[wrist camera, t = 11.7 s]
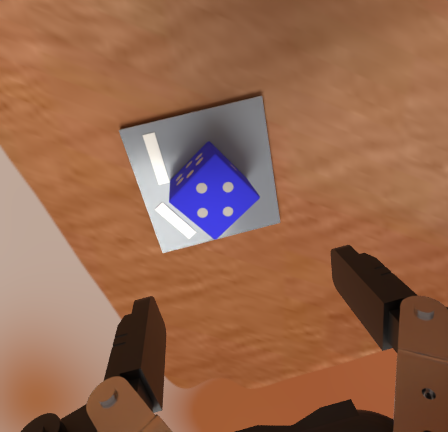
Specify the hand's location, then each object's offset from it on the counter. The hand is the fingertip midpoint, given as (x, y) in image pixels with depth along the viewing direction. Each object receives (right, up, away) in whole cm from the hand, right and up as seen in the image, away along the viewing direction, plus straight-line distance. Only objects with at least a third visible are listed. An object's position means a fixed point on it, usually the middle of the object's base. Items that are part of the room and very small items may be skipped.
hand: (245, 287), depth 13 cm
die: (-2, +7, +14) cm, 15 cm away
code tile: (-2, +7, +14) cm, 16 cm away
